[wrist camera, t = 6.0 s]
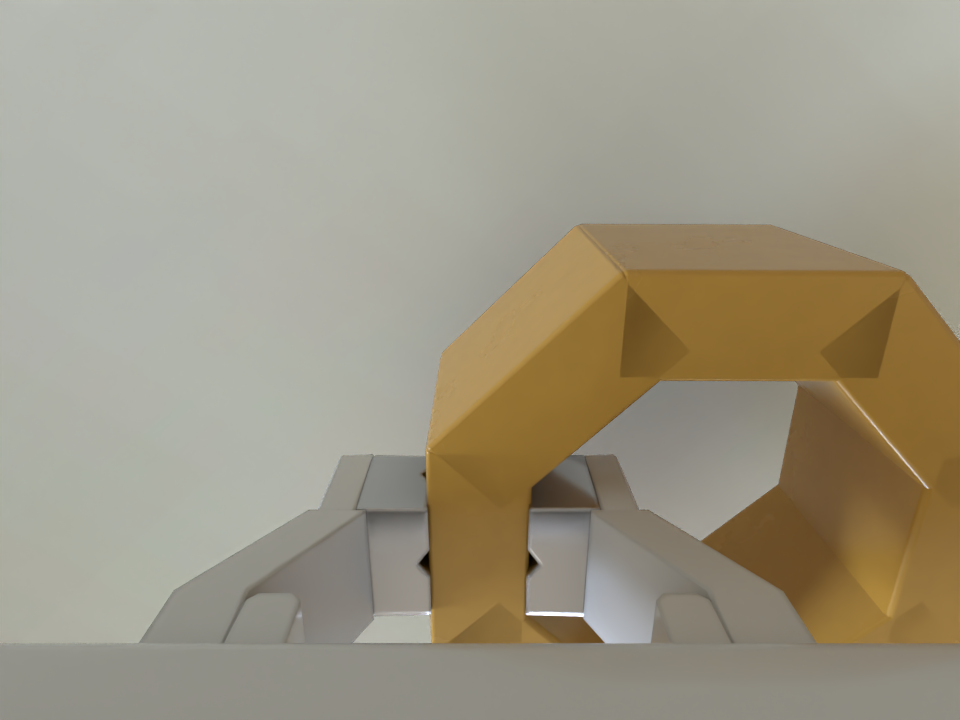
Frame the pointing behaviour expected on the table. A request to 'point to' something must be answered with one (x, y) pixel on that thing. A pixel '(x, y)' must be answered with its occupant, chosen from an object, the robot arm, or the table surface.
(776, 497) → the ring
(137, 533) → the table surface
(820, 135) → the table surface
